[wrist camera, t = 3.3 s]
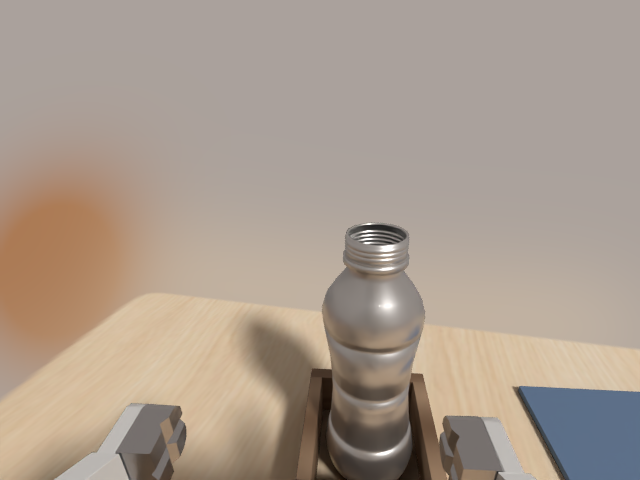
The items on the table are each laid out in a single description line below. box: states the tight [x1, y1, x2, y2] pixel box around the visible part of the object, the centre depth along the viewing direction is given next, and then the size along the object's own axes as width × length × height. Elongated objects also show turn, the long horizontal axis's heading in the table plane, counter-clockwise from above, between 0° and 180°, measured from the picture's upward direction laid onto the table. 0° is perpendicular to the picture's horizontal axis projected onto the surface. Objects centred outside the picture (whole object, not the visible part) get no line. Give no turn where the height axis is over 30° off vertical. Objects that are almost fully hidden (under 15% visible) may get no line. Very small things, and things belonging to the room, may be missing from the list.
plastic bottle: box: [322, 223, 425, 480], centre depth 25 cm, size 6×7×20 cm
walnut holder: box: [296, 369, 447, 480], centre depth 28 cm, size 11×10×4 cm
